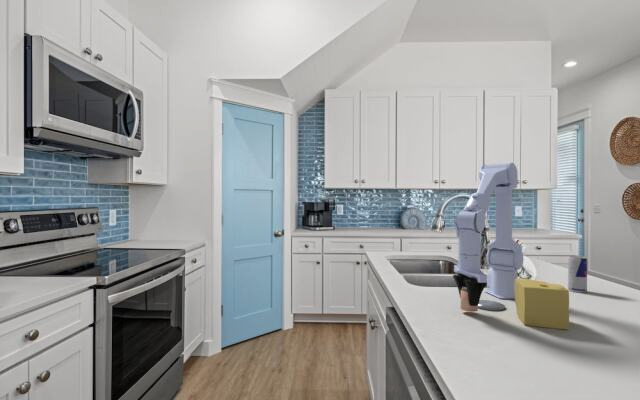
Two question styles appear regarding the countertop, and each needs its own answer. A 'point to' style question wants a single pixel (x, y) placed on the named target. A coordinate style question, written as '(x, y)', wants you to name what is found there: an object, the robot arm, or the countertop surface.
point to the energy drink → (577, 274)
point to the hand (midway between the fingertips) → (469, 302)
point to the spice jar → (466, 301)
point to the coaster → (490, 305)
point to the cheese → (542, 304)
